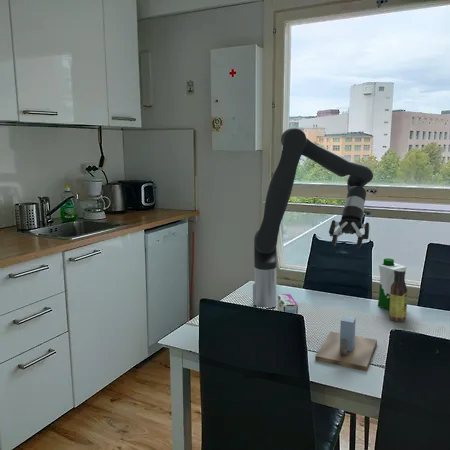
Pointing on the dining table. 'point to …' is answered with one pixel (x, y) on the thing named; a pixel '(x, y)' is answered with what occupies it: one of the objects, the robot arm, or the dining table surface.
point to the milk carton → (387, 281)
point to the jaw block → (348, 331)
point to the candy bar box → (287, 304)
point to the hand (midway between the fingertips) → (345, 246)
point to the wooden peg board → (347, 352)
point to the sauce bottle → (398, 297)
